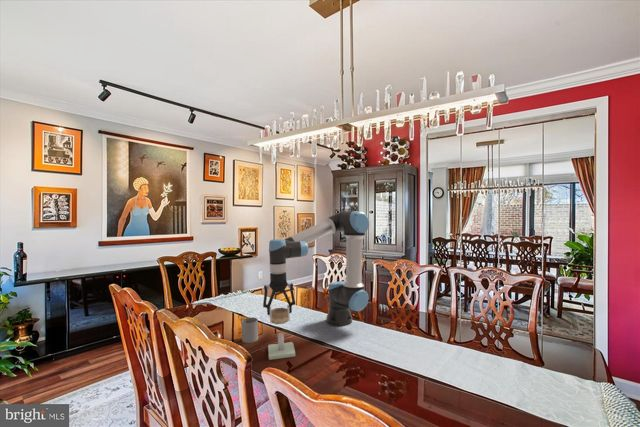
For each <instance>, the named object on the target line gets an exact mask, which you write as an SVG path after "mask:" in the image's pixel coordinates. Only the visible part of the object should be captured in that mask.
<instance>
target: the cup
mask: <svg viewBox="0 0 640 427" xmlns="http://www.w3.org/2000/svg"><path fill="white" fill-rule="evenodd" d="M240 323H241V326H240V327H241V342H242V343H244V344H245V343H247V344H249V343H250V344H251V343H254V342H255V343H256V342H257V341H258V340H259V324H258V323H259V322H258V318H257V317H254V316H253V317H246V318H243V319H242V320H241V322H240Z"/></svg>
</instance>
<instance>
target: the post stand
mask: <svg viewBox="0 0 640 427" xmlns="http://www.w3.org/2000/svg"><path fill="white" fill-rule="evenodd" d="M284 336H285V334H284V333H283V332H279V333H277V343H274V344H268V345H267V348H268V360H269V361H270V360H278V359H286V358H293V357H296V350H295V345H294V342H293V341H290V342H285V337H284Z"/></svg>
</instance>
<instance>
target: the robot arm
mask: <svg viewBox="0 0 640 427" xmlns="http://www.w3.org/2000/svg"><path fill="white" fill-rule="evenodd" d="M369 219H370V218H369V217H368V215H366V213H365V212H364V211H358V210H353V211H347V210H346V211H340V212H338V213H335V214H333V215H330V216H329V217H326V218H324V221H322V222H320V223H318V224H315V225H313V226H311V227H308V228H307V229H304V230H303V231H300V232H297V233H295V234H292V235H291V236H289V237H286V238H277V239H270V240H269V242H268V244H269V245H268V253H269V272H270V274H269V276H270V278H269V280H270V281H269V282H270V283H269V284H267V285H266V284H264V285H263V288H264V294H263V304H262V307H263V308H265V309H266V314H267V316H269V323H271V324H273V323H272V313H271V310H272V304H273V299H274V297H275V294H277V293H282V294H283V296H284V297H285V299H286V300H285V301H286V302H287V304H288V305H287V306H286V309H287V310H288V322H289V321H291V320H290V319H291V317H290V314H292V313H293V312H292V308H293V306H295V305H296V300H295V294H294V289H293V288H294V284H293V283H292V282H291V283H290V282H288V281H287V272H286V271H287V264H286V263H287V262H286V261H287V260H288V259H293V258H302V257H306V256H307V255H308V254H309V244H310V243H313V242H315V241H316V240H319V239H320V238H323V237H325V236H327V235H329V234H331V235H333V234H335V233H339V232H343V236H344V237H345V240H346V242H345V243H346V245H345V246H346V248H345V249H346V251H345V252H346V253H345V254H346V255H345V256H346V257H345V258H346V259H345V273H346V274H345V280H340V281H333V282H331V283H329V284H328V287H327V291H328V292H327V293H328V312H327V314H326V323H327V324H328V325H331V326H337V327H343V326H347V325H350V324H351V323H352V322H353V315H352V312H351V311H355V312H361V311H363V310H364V309H365V308H366V307H367V305H368V302H369V294H368V291H366V290H365V284H364V283H363V281H362V276H363V275H362V273H363V270H362V269H363V266H362V265H363V264H362V263H363V238H364V237H365V236H366V232H367V231H368V230H369V228H370V220H369ZM286 288H288V289H289V291H290V298H291V301H290V298H289V295H288V294H287V291H286ZM270 289H271V291H272V292H271V294H270V295H269V296H270V297H269V299H268V291H269V290H270ZM267 299H268V302H267Z"/></svg>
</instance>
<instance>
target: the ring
mask: <svg viewBox="0 0 640 427" xmlns="http://www.w3.org/2000/svg"><path fill="white" fill-rule="evenodd" d="M271 313H272V323H271V324H275V325H283V324H286V323H288V322H289V321H288V310H287V307H286V308H285V307H275V308H273V309H271Z"/></svg>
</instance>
